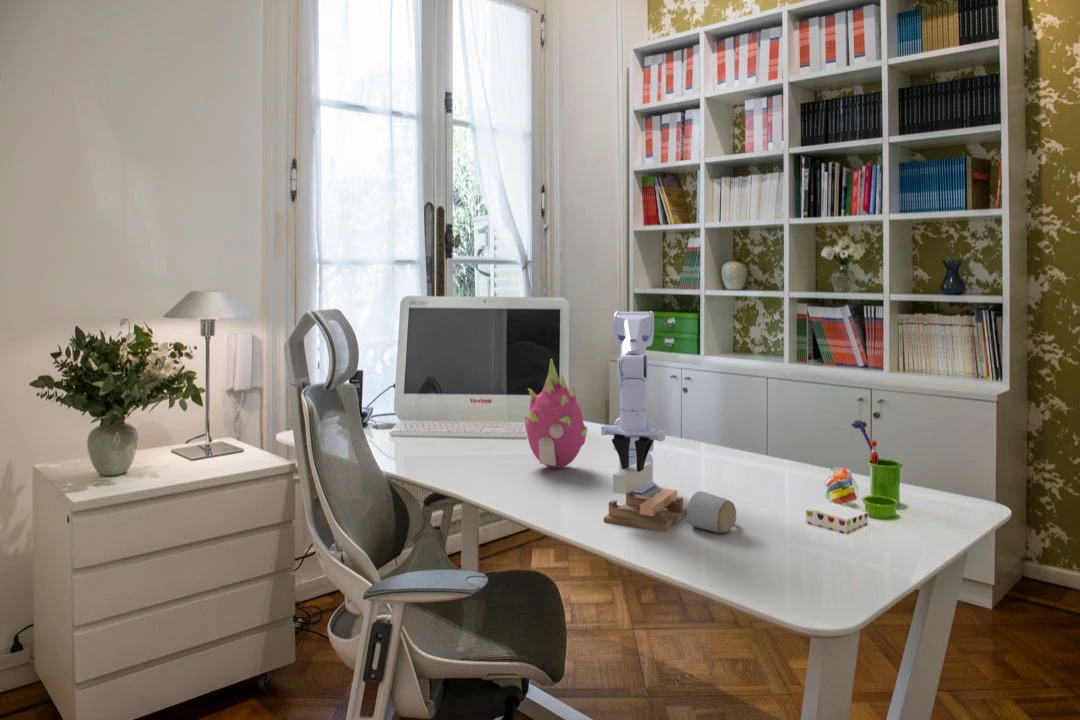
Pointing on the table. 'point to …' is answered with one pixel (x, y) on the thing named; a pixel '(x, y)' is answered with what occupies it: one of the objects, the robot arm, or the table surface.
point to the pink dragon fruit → (555, 423)
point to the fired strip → (658, 502)
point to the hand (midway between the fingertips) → (632, 469)
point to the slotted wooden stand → (632, 516)
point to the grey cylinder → (711, 512)
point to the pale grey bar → (631, 478)
